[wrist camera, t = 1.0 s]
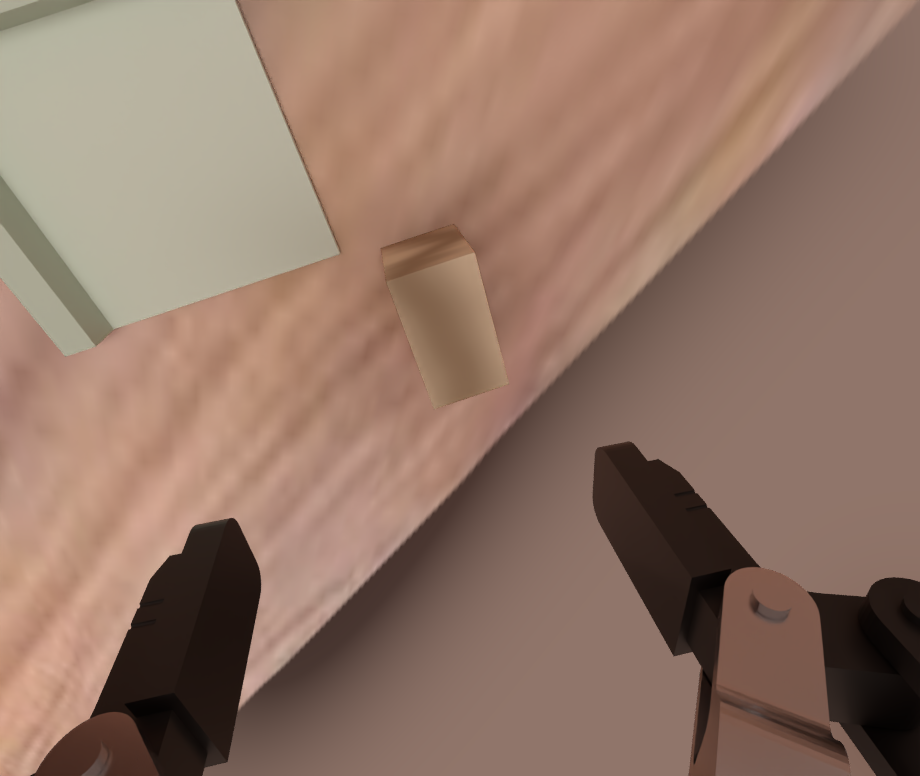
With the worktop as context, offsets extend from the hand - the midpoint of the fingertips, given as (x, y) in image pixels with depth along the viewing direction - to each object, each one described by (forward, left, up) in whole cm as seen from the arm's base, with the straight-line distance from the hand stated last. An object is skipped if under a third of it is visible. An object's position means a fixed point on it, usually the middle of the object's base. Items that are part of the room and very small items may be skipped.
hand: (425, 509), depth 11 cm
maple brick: (-2, +2, -18) cm, 18 cm away
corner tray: (+9, -9, -18) cm, 22 cm away
